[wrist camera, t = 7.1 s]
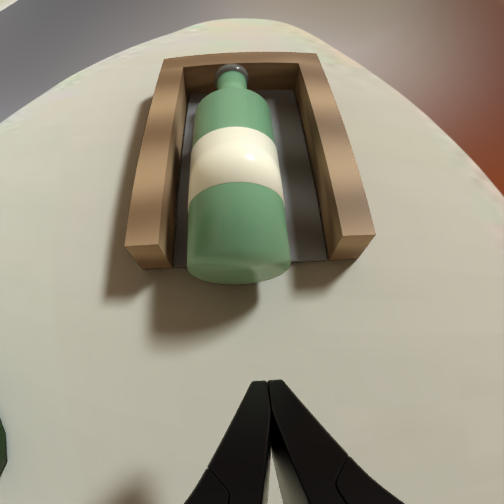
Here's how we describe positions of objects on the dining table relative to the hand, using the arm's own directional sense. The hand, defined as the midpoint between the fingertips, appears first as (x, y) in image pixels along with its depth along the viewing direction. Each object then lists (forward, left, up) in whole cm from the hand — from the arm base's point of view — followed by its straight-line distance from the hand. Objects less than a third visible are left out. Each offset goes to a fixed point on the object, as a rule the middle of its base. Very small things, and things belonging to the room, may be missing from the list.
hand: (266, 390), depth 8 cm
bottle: (+1, +6, -6) cm, 9 cm away
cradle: (+6, +16, -9) cm, 20 cm away
